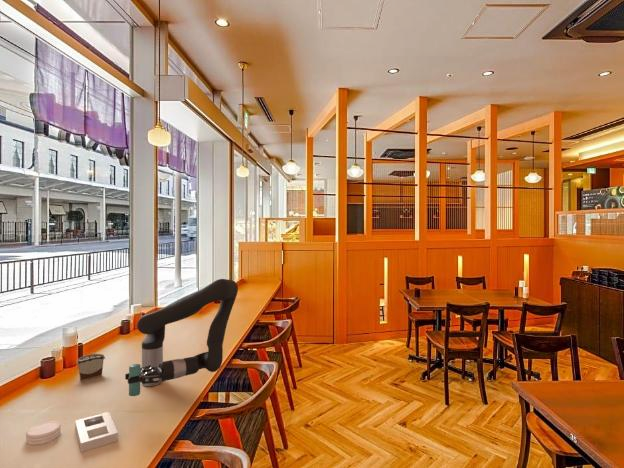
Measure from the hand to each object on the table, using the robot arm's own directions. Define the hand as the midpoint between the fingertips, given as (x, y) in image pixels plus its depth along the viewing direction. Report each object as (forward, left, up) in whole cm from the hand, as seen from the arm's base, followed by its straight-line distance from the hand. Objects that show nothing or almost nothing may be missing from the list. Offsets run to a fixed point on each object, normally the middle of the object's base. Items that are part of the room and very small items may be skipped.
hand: (126, 378), depth 146 cm
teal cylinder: (0, +3, -7) cm, 7 cm away
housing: (+4, -11, -16) cm, 20 cm away
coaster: (-5, -26, -17) cm, 31 cm away
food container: (-57, -6, -16) cm, 59 cm away
